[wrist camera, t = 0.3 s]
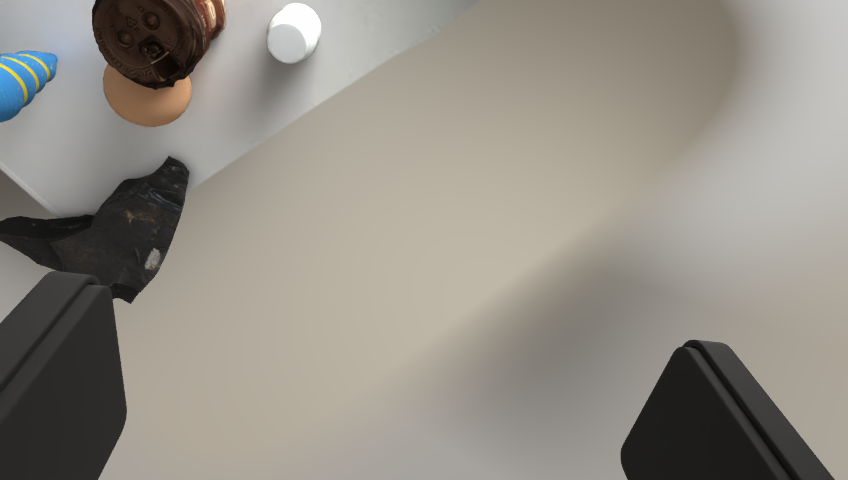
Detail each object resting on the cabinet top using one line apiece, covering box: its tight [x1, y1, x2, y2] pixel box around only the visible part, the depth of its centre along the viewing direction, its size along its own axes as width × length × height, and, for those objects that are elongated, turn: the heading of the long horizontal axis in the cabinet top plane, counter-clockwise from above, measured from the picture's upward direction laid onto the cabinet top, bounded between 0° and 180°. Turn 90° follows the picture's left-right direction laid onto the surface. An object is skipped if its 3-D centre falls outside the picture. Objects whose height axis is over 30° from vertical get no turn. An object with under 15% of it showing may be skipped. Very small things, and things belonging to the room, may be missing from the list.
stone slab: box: [0, 156, 189, 304], centre depth 62 cm, size 22×16×5 cm
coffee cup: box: [92, 0, 226, 90], centre depth 47 cm, size 9×8×13 cm
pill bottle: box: [267, 3, 321, 64], centre depth 50 cm, size 4×4×8 cm
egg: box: [103, 64, 192, 127], centre depth 51 cm, size 7×7×8 cm
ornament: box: [0, 51, 57, 122], centre depth 47 cm, size 5×5×15 cm
